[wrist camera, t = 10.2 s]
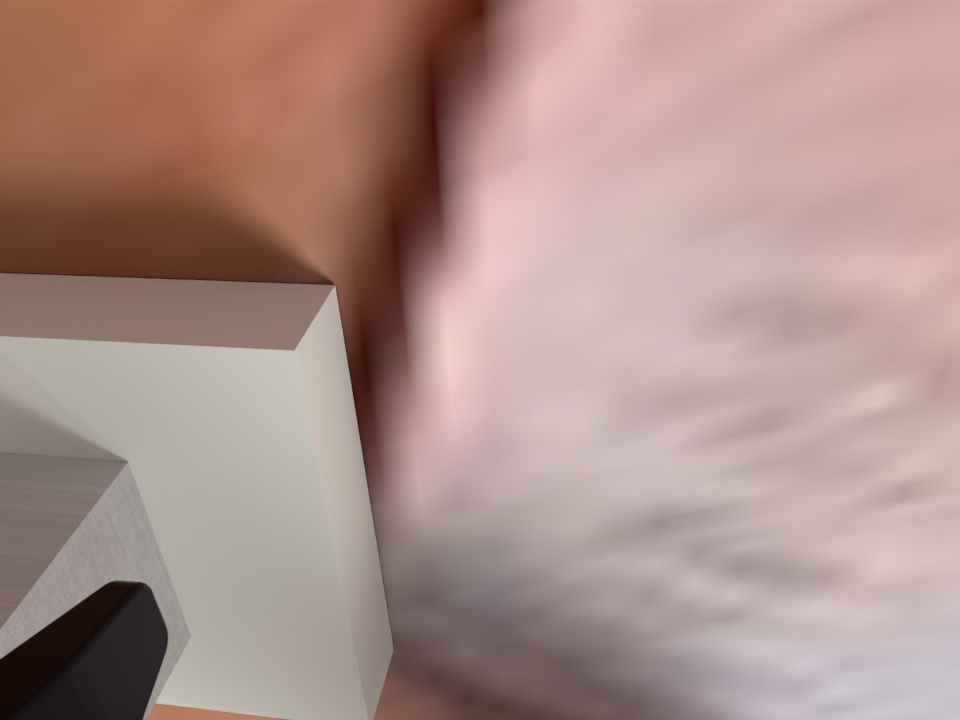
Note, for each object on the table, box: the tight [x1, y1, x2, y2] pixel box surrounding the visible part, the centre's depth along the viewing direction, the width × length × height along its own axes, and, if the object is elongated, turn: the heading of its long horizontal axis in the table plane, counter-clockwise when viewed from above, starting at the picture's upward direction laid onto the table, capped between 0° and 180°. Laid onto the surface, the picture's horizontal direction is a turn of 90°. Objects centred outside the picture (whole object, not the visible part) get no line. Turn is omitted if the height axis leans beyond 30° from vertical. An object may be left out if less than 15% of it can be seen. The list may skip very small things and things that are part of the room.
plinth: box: [0, 273, 394, 720], centre depth 25 cm, size 14×14×3 cm
